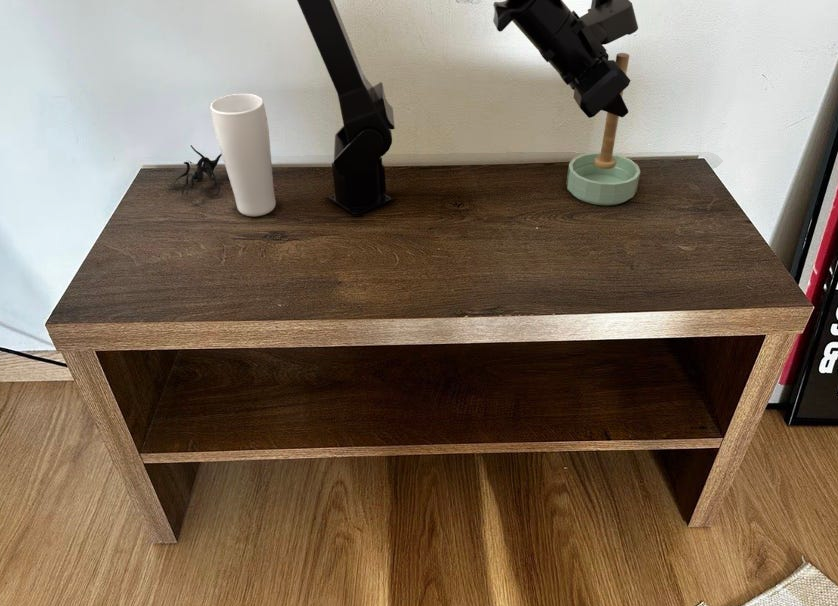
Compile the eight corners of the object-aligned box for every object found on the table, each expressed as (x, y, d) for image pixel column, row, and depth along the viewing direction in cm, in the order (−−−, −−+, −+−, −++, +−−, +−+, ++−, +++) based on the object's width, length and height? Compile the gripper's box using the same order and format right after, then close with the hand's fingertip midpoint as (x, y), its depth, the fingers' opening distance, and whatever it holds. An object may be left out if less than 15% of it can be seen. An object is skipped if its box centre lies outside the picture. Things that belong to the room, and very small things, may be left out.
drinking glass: (271, 223, 95) (251, 115, 85) (224, 218, 96) (199, 111, 86) (288, 199, 100) (272, 94, 90) (244, 194, 101) (223, 91, 91)
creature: (211, 209, 100) (240, 174, 104) (198, 179, 96) (228, 144, 100) (166, 199, 102) (196, 166, 107) (151, 170, 98) (183, 136, 102)
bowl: (606, 214, 96) (610, 191, 94) (552, 188, 102) (555, 166, 99) (649, 191, 101) (654, 169, 99) (595, 168, 107) (598, 146, 104)
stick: (615, 170, 97) (635, 59, 88) (593, 168, 98) (611, 58, 88) (615, 160, 100) (634, 51, 90) (593, 159, 100) (610, 50, 90)
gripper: (626, -5, 76) (701, 94, 83) (584, -44, 90) (651, 43, 97) (547, 72, 80) (624, 158, 88) (518, 23, 94) (587, 101, 102)
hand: (623, 111), depth 94 cm, fingers closed on stick
